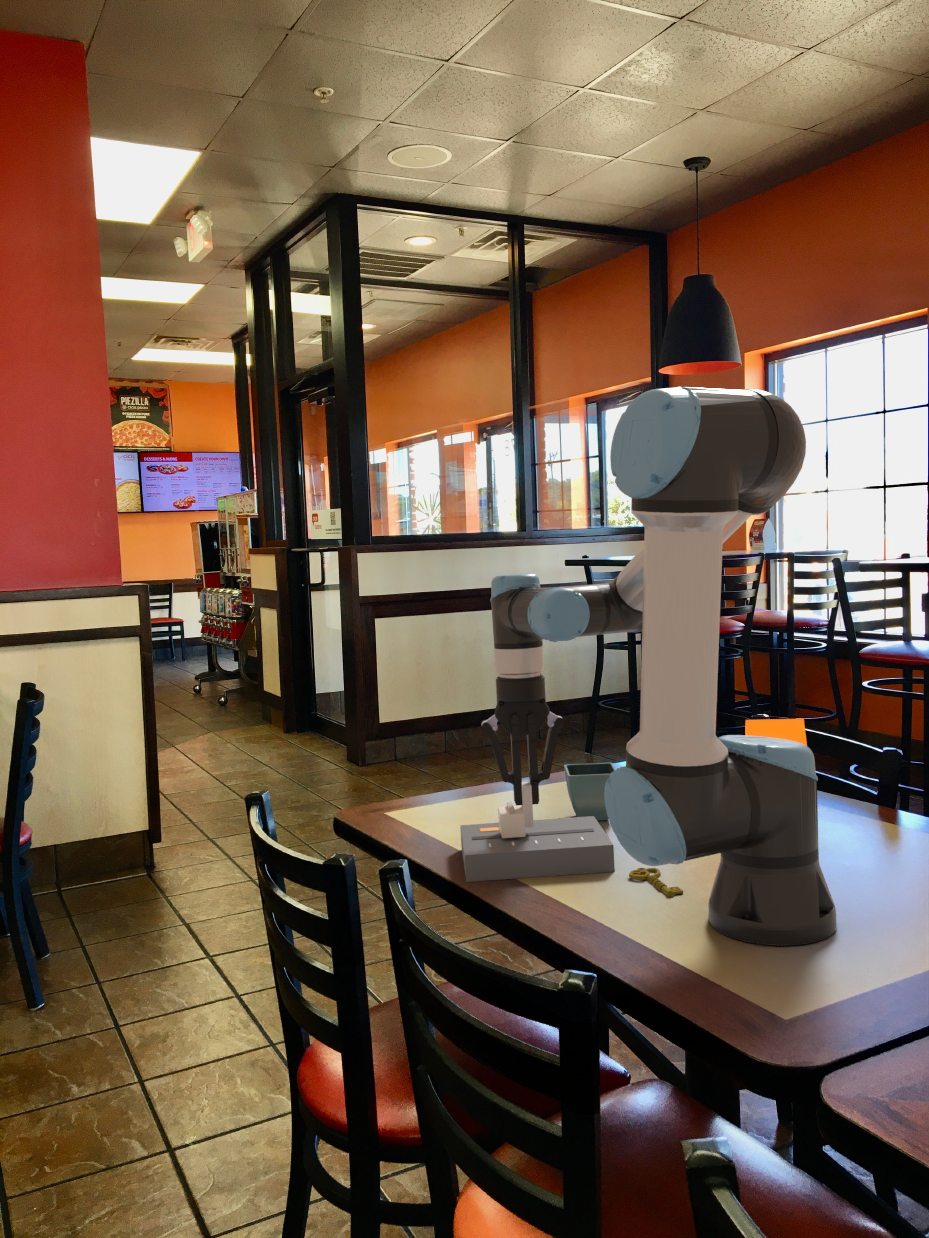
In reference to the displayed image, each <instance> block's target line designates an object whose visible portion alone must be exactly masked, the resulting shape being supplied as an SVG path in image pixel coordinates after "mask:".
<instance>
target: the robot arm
mask: <svg viewBox="0 0 929 1238" xmlns="http://www.w3.org/2000/svg"><path fill="white" fill-rule="evenodd" d="M806 448H807V439H806V433H805V428H804V426H803V424H802V421H801V419H800V417H799V415H798V413H796V411H795V410H794V408H793V407H792V406H791V405H790V404H789V403H788V402H786V401H785V400H784V399H783V398H781V397H779V396H777V395H775V394H774V393H771V392H768V391H765V390H760V389H755V388H753V389H752V388H751V389H748V388H744V389H728V388H727V389H726V388H713V387H712V388H707V387H694V386H693V387H691V386H690V387H689V386H683V387H682V386H679V385H678V386H677V387H665V388H656V389H654V388H653V389H650V390H647V391H645V392H642V393H641V394H639V395H638V396H637V397H635V398H634V399H633V400H632V401H631V402H629V404H628V405H627V407H626V409H625V411H624V412H623V413H622V414H621V415H620V418H619V420H618V422H617V424H616V426H615V429H614V432H613V436H612V440H611V447H610V456H609V457H610V469H611V474H612V476H613V477H615V479H614V482H615V485H616V487H617V488H618V489H619V490H620V492H621V493H623V494H624V495H625V496H627V497H628V498H631V506H630V508H631V509H630V510H631V514H632V515H633V516H634V517H635V518H636V520H638V521H639V522H640V523H641V524H642V525H643V528H644V537H643V539H644V544H643V546H642V547H640V549H639V550H638V552H637V553H636V554H635V555H634V556H633V557H632V558H631V560H630V561H629V562H628V563H627V564H626V565H625V566H624V567H623V569H622V570H621V571H620V572H619V573H618V574H617V575H616V576H615V578H613V580H612V581H610V582H605V583H604V582H603V583H592V584H581V585H567V586H565V585H563V586H552V587H551V586H549V587H548V586H547V587H541V584H540V578H539V577H538V576H537V574H535V573H516V574H514V573H513V574H503V575H502V574H499V575H495V576H493V578H492V579H491V585H490V586H491V587H490V588H491V589H490V591H491V593H490V595H491V597H490V599H489V600H490V605H491V621H492V633H493V646H494V648H493V652H494V655H493V656H494V670H495V671H494V672H495V673H496V674H497V675H499V676H497V677H496V678H495V688H496V689H495V690H496V706H495V708H494V710H493V711H494V712H493V713H494V714H492V715H491V716H490V717H489V718H488V719H484V720H482V721H481V723H480V725H481V727H482V730H483V731H484V733H485V734H486V735H487V736H488V737H489V741H490V744H491V747H492V750H493V751H492V752H493V754H494V758H495V760H496V763H497V766H498V770H499V771H498V772H499V774H500V776H501V779H502V782H504V783H509V784H512V787H513V788H512V789H513V801H514V803H515V805H516V806H518V805H521V807H522V809H523V812H524V818H525V828H529V827H534V825H533V820H534V813H533V812H534V810H533V809H534V808H533V805H539V804H540V789H539V785H540V783H541V782H543V781H545V780H546V781H547V780H549V779H550V778H551V772H552V767H553V762H554V757H555V751H556V746H557V740H558V735H559V733H560V731H561V729H562V727H563V725H564V724H565V720H564V718H563V717H562V716H561V715H557V714H555V713H553V712H552V711H550V707H549V705H548V703H547V700H546V699H547V698H546V681H545V676H544V675H543V673H542V672H544V670H545V662H544V658H545V657H544V647H543V646H544V645H543V640H545V641H550V642H553V643H557V642H568V641H572V640H575V639H576V638H583V637H590V636H592V637H593V636H601V635H609V634H610V635H611V634H622V633H640V632H641V666H640V667H641V671H640V676H641V677H640V705H639V706H640V708H639V709H640V712H639V713H640V714H639V716H640V717H639V731H638V732H637V733H636V735H634V736H633V737H632V738H630V740H629V741H627V742H626V747H625V766H620V767H618V768H615V769H616V770H615V771H613V772H612V773H611V774H610V777H609V778H608V779H607V781H606V785H605V805H606V811H607V815H608V818H609V819H608V822H609V824H610V826H611V829H612V831H613V833H614V835H615V837H616V838H617V841H618V842H619V843H620V845H621V847H622V848H623V849H624V850H625V852H626V853H627V854H628V855H629V856H630V857H631V858H633V859H634V860H635V861H637V862H638V863H640V864H642V865H645V866H649V867H658V866H664V865H669V864H670V865H680V864H681V865H682V864H683V863H684V862H687V861H691V860H695V859H700V858H704V857H708V856H713V855H717V854H720V859H719V861H720V862H719V863H718V864H719V865H718V869H717V871H716V875H715V877H714V878H715V879H714V881H713V885H712V889H711V892H710V896H709V899H708V908H707V909H708V921H709V923H710V925H711V926H712V928H713V929H714V930H716V931H717V932H719V933H721V934H723V935H725V936H727V937H730V938H732V939H735V940H739V941H743V942H746V943H751V944H758V945H767V946H799V945H807V944H812V943H817V942H819V941H824V939H828V938H829V937H831V936H832V935H833V934H834V933H835V932H836V930H837V909H836V904H835V903H834V900H833V898H832V897H833V896H832V894H831V891H830V889H829V886H828V884H827V881H826V878H825V876H824V874H823V870H822V867H821V865H820V857H819V854H820V853H819V820H818V819H819V818H818V817H819V816H818V781H819V777H818V776H817V773H816V761H815V756H814V755H815V754H814V753H813V751H812V748H810V747H809V746H808V745H807V746H806V745H804V744H802V743H799V742H795V741H791V740H785V739H779V738H771V737H762V736H749V735H743V734H727V735H721V736H719V737H718V736H717V735H716V731H717V729H716V728H717V705H718V702H717V700H718V699H717V698H718V676H719V675H718V673H719V652H720V651H719V649H720V647H719V645H720V623H721V622H720V621H721V619H720V618H721V600H722V599H721V594H722V570H723V568H722V567H723V546H724V545H723V544H724V543H725V542H726V541H728V539H729V538H731V536H732V535H734V533H735V532H736V531H737V530H739V528H741V527H742V525H744V523H745V522H746V521H747V520H749V518H750V517H752V516H759V515H764V514H766V513H767V512H769V511H770V509H772V508H773V507H774V506H775V505H776V504H777V503H778V502H779V501H780V500H781V499H783V497H784V496H785V495H786V493H787V492H788V491H789V489H790V488H791V487H792V486H793V485H794V483H795V482H796V480H797V478H798V476H799V474H800V472H801V471H802V469H803V465H804V461H805V457H806V451H807V449H806ZM546 720H547V721H546ZM545 721H546V722H547V726H548V730H547V735H546V740H545V746H544V752H543V757H542V760H541V761H542V763H541V767H540V771H539V767H538V766H539V764H538V761H539V760H538V747H537V746H538V745H537V733H538V732H539V730H540V729H541V728H542V726H543V724H544V723H545ZM498 722H499V723H500V724H501V726H502V727H503V729H504V730H505V731H506V732H507V733H509V737H510V751H511V755H510V756H511V771H512V773H511V772H509V770H508V766H507V763H506V761H505V756H504V755H503V751H502V747H501V744H500V741H499V740H500V739H499V737H498V735H497V733H496V731H498V729H499V727H498ZM522 735H526V743H527V761H528V779H529V781H523V779H522V777H523V776H522V761H521V760H522V758H521V736H522Z"/></svg>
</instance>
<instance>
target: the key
mask: <svg viewBox="0 0 929 1238" xmlns="http://www.w3.org/2000/svg"><path fill="white" fill-rule="evenodd" d="M650 873H653V874H651V875H650ZM661 876H662V875H661V870H660V869H659V868H656V867H647V868H645V867H638V868H637V869H633V870H630V872H629V874H628V877H629V878H630V879H632V880H639V881H640V880H642V881H647V882H648V883H649V884H651V885H652V886H653V887H655V889H657V890H658V891H659V892H662V893H663V894H664V895H666V897H667V898H672V897H675V895H681V894H684V890H683V889H682V888H681V887H679V886H670V887H668V886H667V885H666V884H665V883H664V881H662V880H660V879H659V878H660V877H661Z"/></svg>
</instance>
